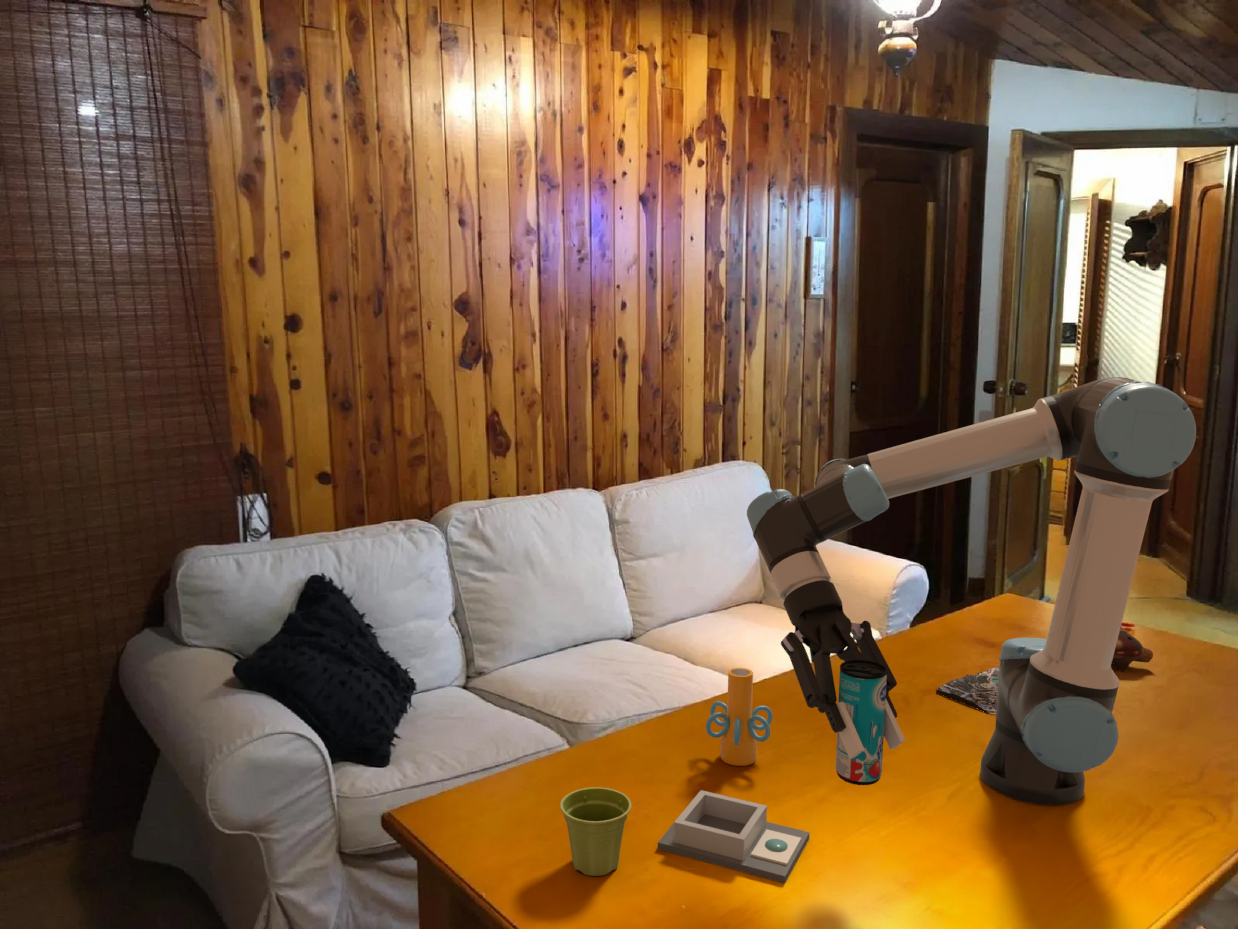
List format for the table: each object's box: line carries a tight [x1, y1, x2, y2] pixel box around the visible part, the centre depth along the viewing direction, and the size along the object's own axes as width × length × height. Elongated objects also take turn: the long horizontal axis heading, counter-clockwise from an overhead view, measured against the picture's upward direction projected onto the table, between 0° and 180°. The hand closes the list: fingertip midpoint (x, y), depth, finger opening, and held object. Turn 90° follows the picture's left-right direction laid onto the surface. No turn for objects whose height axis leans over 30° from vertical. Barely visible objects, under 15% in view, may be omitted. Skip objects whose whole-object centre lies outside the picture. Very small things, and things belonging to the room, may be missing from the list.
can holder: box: [657, 789, 810, 884], centre depth 135 cm, size 18×12×4 cm, turn 64°
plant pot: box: [559, 786, 632, 877], centre depth 129 cm, size 9×9×9 cm
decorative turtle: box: [1111, 630, 1154, 672], centre depth 204 cm, size 10×15×8 cm, turn 82°
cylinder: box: [705, 667, 773, 767], centre depth 160 cm, size 12×10×15 cm
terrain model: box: [935, 665, 1000, 716], centre depth 188 cm, size 20×15×3 cm
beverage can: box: [835, 660, 887, 786], centre depth 127 cm, size 6×6×15 cm
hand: (877, 749), depth 124 cm, fingers closed on beverage can, 6 cm apart
